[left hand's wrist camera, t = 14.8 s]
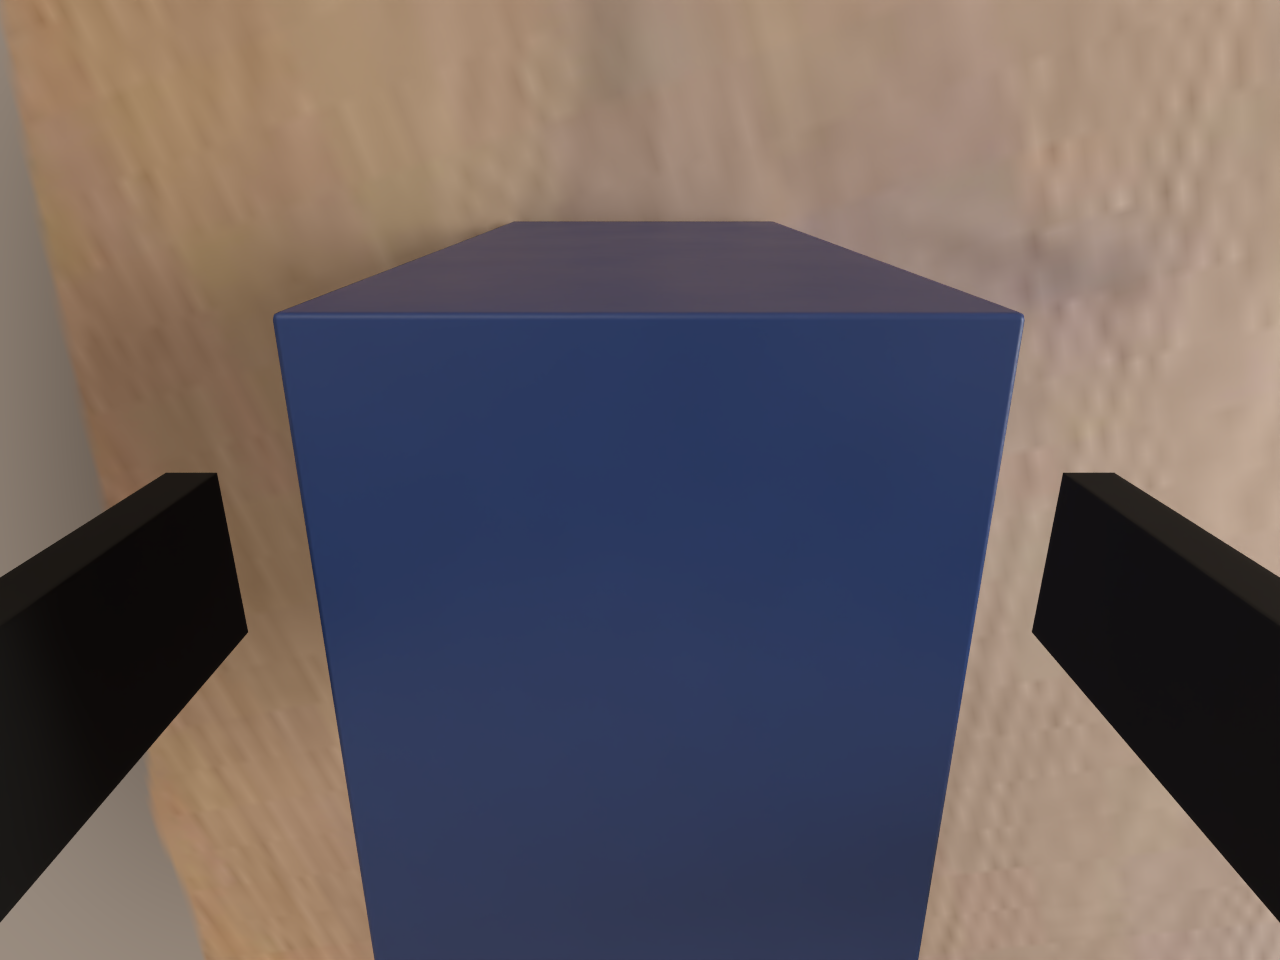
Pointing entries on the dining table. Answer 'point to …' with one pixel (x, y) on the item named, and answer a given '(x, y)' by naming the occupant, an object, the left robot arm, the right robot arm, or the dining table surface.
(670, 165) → the dining table surface
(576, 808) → the block
